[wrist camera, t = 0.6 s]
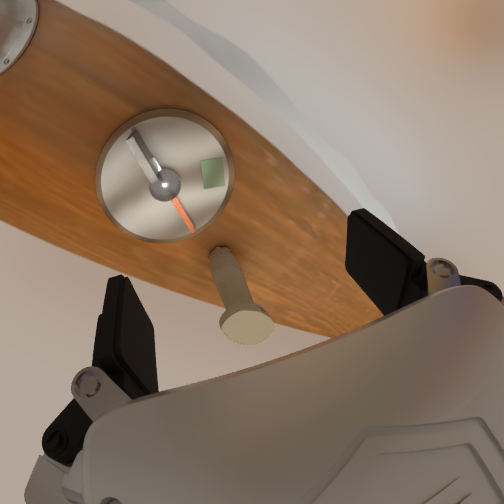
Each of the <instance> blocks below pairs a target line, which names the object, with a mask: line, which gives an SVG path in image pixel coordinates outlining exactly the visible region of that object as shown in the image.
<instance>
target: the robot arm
mask: <svg viewBox="0 0 504 504" xmlns="http://www.w3.org/2000/svg"><path fill="white" fill-rule="evenodd" d="M38 13H39V9H38V3H37V1H36V0H0V74H2V73H4V72H5V71H6V70H7V69H9V68H10V67H11V66H12V65H13V64H14V63H15V62H16V61H17V60H18V59H19V57H20V56H21V55H22V54H23V52H24V51H25V49H26V47H27V46H28V44H29V42H30V40H31V38H32V36H33V34H34V31H35V29H36V25H37V21H38ZM31 21H32V22H31ZM424 259H425V256H424V255H423V254H422V253H421V252H419V251H418V250H417V249H416V248H415V247H414V246H412V245H411V244H410V243H409V242H407V241H406V240H405V239H404V238H402V237H401V236H400V235H399V234H397V233H396V232H395V231H394V230H392V229H391V228H390V227H388V226H387V225H386V224H385V223H383V222H382V221H381V220H379V219H378V218H377V217H375V216H374V215H373V214H371V213H370V212H369V211H367V210H366V209H364V208H362V209H358V210H354V211H352V212H351V214H350V215H349V216H348V223H347V245H346V261H345V267H346V270H347V272H348V274H349V275H350V276H351V277H352V278H353V279H354V280H355V282H356V283H357V284H358V285H359V286H360V287H361V288H362V290H363V291H364V292H365V293H366V294H367V295H368V297H369V298H370V299H371V300H372V301H373V303H374V304H375V305H376V306H377V307H378V309H379V310H380V311H381V312H382V313H383V315H384V316H383V317H381V318H379V319H377V320H374V321H372V322H370V323H367V324H365V325H363V326H361V327H358V328H356V329H353V330H351V331H349V332H346V333H344V334H341V335H339V336H336V337H334V338H331V339H329V340H327V341H324V342H321V343H319V344H316V345H313V346H311V347H308V348H305V349H303V350H300V351H297V352H295V353H291V354H289V355H286V356H283V357H280V358H277V359H274V360H271V361H268V362H265V363H262V364H259V365H256V366H253V367H249V368H246V369H243V370H240V371H236V372H233V373H229V374H226V375H222V376H219V377H215V378H212V379H208V380H204V381H201V382H197V383H193V384H190V385H185V386H181V387H177V388H173V389H169V390H165V391H161V392H159V391H158V380H157V368H156V356H155V340H154V328H153V325H152V322H151V320H150V319H149V317H148V315H147V313H146V311H145V309H144V307H143V305H142V303H141V302H140V300H139V298H138V296H137V294H136V292H135V290H134V288H133V286H132V284H131V282H130V280H129V278H128V277H124V276H123V275H118V276H115V277H111V278H109V279H108V283H107V288H106V293H105V299H104V305H103V311H102V314H100V315H99V317H98V322H97V329H96V336H95V343H94V351H93V360H92V366H91V367H86V368H84V369H82V370H81V371H79V372H78V373H77V374H76V376H75V377H74V379H73V381H72V385H71V391H72V395H73V397H74V399H73V400H72V401H71V402H70V403H69V404H68V405H67V407H66V408H65V409H64V410H63V411H62V412H61V413H60V415H59V416H58V417H57V418H56V419H55V420H54V421H53V422H52V423H51V425H50V426H49V427H48V428H47V429H46V431H45V432H44V434H43V437H42V447H43V450H44V455H43V456H41V455H39V458H38V460H37V462H36V465H35V467H34V469H33V471H32V474H31V476H30V479H29V481H28V484H27V486H26V489H25V493H24V497H25V502H26V504H504V297H503V296H502V292H501V290H500V289H499V288H498V287H497V286H496V285H495V284H494V283H492V282H489V281H485V280H480V279H476V278H471V277H466V276H462V275H459V273H458V270H457V267H456V266H455V265H454V264H453V263H452V262H450V261H448V260H446V259H443V258H432V259H430V260H429V261H428V262H427V263H426V262H425V261H424Z"/></svg>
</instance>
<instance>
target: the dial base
mask: <svg viewBox="0 0 504 504" xmlns="http://www.w3.org/2000/svg"><path fill="white" fill-rule="evenodd" d="M135 130H138V132H139V133H140V135H141V137H142V139H143V140H144V142H145V144H146V146H147V147H148V149H149V151H150V152H151V154H152V156H153V157H154V156H155V158H156V160H157V161H158V163H159V165H160V166H161V168H170V169H173V170H174V171H175V172H176V173H177V174H178V176H179V178H180V183H181V189H180V192H179V194H178V195H177V196H176V197H177V199H178V200H179V202H180V204H181V205H182V207H183V209H184V210H185V212H186V214H187V215H188V217H189V218H190V220H191V222H192V223H193V225H194V226H195V228H196V230H197V231H195V232H193V233H191V231H190V230H189V228H188V227H187V225H186V224H185V222H184V220H183V219H182V217H181V216H180V214H179V213H178V211H177V209H176V208H175V206H174V205H173V203H172V201H171V200H170V201H166V202H162V201H158V200H156V199H155V198H154V197H153V196H152V195H151V193H150V191H149V179H148V178H147V176H146V174H145V173H144V171H143V169H142V168H141V166H140V165H139V163H138V161H137V160H136V158H135V156H134V155H133V153H132V151H131V150H130V148H129V146H128V145H127V143H126V140H127V138H128V137H129V135H130V133H132V132H133V131H135ZM234 174H235V171H234V162H233V158H232V154H231V151H230V149H229V146H228V145H227V143H226V141H225V139H224V138H223V137H222V135H221V134H220V133H219V131H218V130H217V129H216V128H214V127H213V126H212V125H211V124H210V123H208V122H207V121H206V120H204V119H203V118H201V117H199V116H197V115H196V114H193V113H191V112H188V111H184V110H179V109H170V108H165V109H156V110H151V111H147V112H144V113H142V114H139V115H137V116H135V117H133V118H132V119H130V120H129V121H127V122H126V123H124V124H123V125H122V126H121V127H120V128H119V129H118V130H117V131H116V132H115V133H114V134H113V135H112V136H111V137H110V139H109V140H108V141H107V143H106V144H105V146H104V148H103V150H102V152H101V154H100V157H99V160H98V163H97V167H96V174H95V185H96V192H97V196H98V200H99V203H100V205H101V207H102V209H103V211H104V212H105V214H106V216H107V217H108V218H109V219H110V221H111V222H112V223H113V224H114V225H115V226H116V227H117V228H118V229H120V230H121V231H123V232H124V233H125V234H127V235H129V236H131V237H133V238H136V239H139V240H141V241H146V242H151V243H172V242H177V241H182V240H185V239H187V238H190V237H192V236H194V235H196V234H198V233H200V232H201V231H203V230H205V229H206V228H207V227H208V226H210V225H211V224H212V223H213V222H214V221H215V220H216V219H217V218H218V217H219V215H220V214H221V213H222V211H223V210H224V208H225V206H226V205H227V203H228V201H229V198H230V196H231V193H232V190H233V185H234Z"/></svg>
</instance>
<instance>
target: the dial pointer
mask: <svg viewBox="0 0 504 504" xmlns="http://www.w3.org/2000/svg"><path fill="white" fill-rule="evenodd" d="M126 143H127V145H128V146H129V148H130V150H131V151H132V153H133V155H134V156H135V158H136V160H137V161H138V163H139V165H140V166H141V168H142V169H143V171H144V173H145V174H146V176H147V178H148V179H149V191H150V193H151V195H152V196H153V197H154V198H155V199H156V200H158V201H162V202H166V201H170V200H171V201H172V203H173V205H174V206H175V208H176V209H177V211H178V213H179V214H180V216H181V217H182V219H183V220H184V222H185V224H186V225H187V227H188V228H189V230H190V231H191V233H193V232H195V231H197V230H196V228H195V226H194V225H193V223H192V222H191V220H190V218H189V217H188V215H187V214H186V212H185V210H184V209H183V207H182V205H181V204H180V202H179V200H178V199H177V197H176V196H177V195H178V194H179V192H180V189H181V183H180V178H179V176H178V174H177V173H176V172H175V171H174V170H173V169H170V168H161V166H160V165H159V163H158V161H157V160H156V158H155V156H154V157H153V156H152V154H151V152H150V151H149V149H148V147H147V146H146V144H145V142H144V140H143V139H142V137H141V135H140V133H139V132H138V130H135V131H133V132H132V133H130V135H129V137H128V138H127V140H126Z"/></svg>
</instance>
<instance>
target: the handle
mask: <svg viewBox="0 0 504 504" xmlns="http://www.w3.org/2000/svg"><path fill="white" fill-rule="evenodd" d="M210 259H211V270H212V275H213V278H214V281H215V284H216V287H217V289H218V291H219V294H220V296H221V298H222V301H223V303H224V305H225V308H226V311H225V312H224V313H223V314H222V316H221V318H220V321H219V324H220V327H221V330H222V332H223V333H224V335H225V336H226V337H227V338H228V339H229V340H231V341H233V342H236V343H239V344H244V345H253V344H254V345H255V344H258V343H260V342H262V341H264V340H265V339H267V338H268V337H269V336H270V335H271V334H272V333H273V331H274V329H275V326H274V324H273V321H272V319H271V317H270V316H269V314H268V312H267V311H266V310H265V309H264V308H263V307H262V306H260V305H258V304H254V302H253V299H252V296H251V294H250V291H249V288H248V285H247V283H246V280H245V277H244V274H243V272H242V270H241V267H240V266H239V264H238V262H237V260H236V259H235V257H234V256H233V255H232V254H231V251H230V250H229V248H227V247H218V246H217V247H215V249H214V250H213V251H212V252H211V253H210Z"/></svg>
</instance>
